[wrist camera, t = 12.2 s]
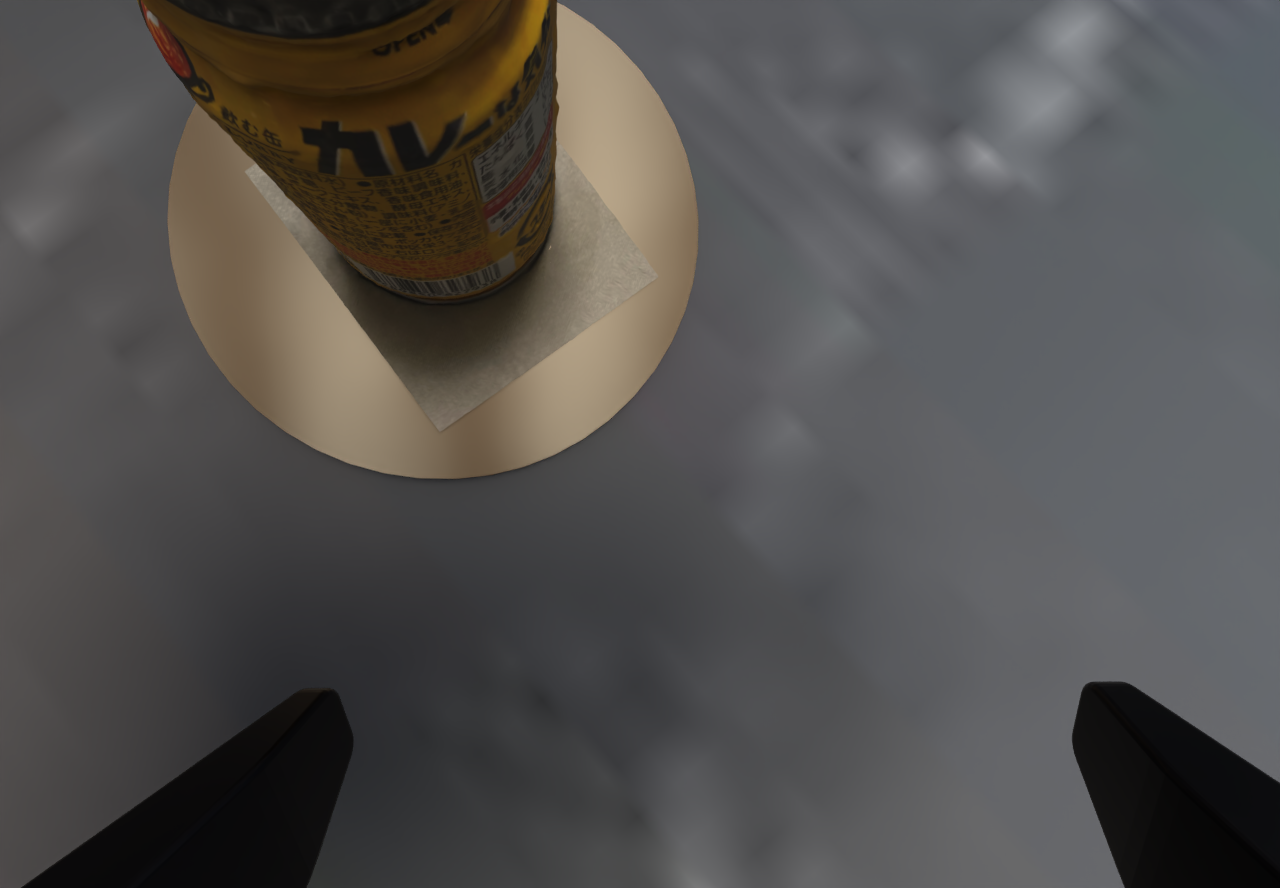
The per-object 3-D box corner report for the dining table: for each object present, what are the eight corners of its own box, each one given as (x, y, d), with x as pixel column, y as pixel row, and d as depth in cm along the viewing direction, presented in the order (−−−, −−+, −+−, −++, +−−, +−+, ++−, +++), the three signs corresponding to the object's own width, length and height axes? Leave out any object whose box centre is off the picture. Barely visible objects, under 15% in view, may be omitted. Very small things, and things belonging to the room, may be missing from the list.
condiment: (475, 29, 20) (346, -663, 8) (658, 279, 20) (807, -19, 8) (247, 174, 19) (-294, -352, 7) (441, 433, 19) (244, 359, 7)
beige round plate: (275, 545, 19) (260, 549, 18) (121, 57, 19) (98, 34, 18) (752, 394, 21) (762, 390, 20) (608, -53, 21) (611, -79, 20)
